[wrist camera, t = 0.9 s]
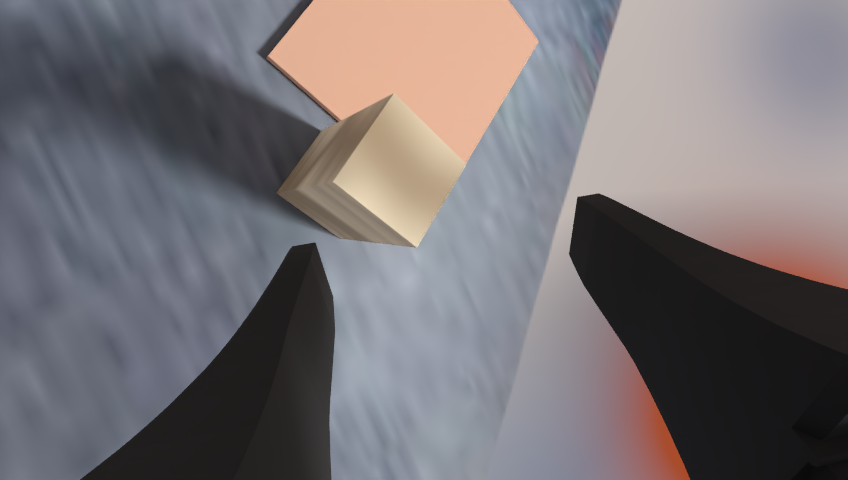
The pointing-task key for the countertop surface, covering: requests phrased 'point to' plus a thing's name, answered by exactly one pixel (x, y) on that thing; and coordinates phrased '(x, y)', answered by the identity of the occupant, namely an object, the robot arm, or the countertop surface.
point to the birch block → (375, 176)
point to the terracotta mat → (410, 59)
